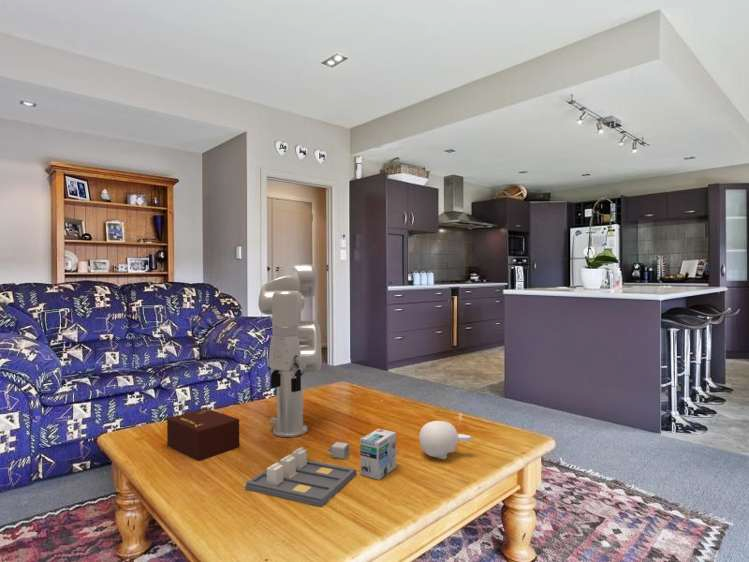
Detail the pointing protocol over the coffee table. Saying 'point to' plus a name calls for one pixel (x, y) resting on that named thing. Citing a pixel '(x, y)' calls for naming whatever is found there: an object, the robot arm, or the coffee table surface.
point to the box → (203, 433)
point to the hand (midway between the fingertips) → (285, 389)
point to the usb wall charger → (339, 450)
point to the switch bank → (306, 483)
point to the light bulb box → (378, 453)
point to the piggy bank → (440, 438)
